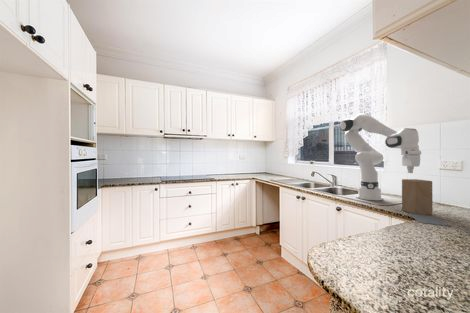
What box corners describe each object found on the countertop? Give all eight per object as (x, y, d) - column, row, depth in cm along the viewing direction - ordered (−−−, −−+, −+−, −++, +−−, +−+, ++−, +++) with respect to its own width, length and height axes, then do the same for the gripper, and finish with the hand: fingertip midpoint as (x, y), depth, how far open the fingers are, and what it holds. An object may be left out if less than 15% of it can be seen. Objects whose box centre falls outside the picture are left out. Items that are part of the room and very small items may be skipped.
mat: (407, 213, 117) (407, 213, 117) (434, 216, 111) (434, 216, 111) (419, 222, 101) (419, 222, 101) (452, 226, 95) (452, 225, 95)
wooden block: (433, 215, 115) (432, 181, 115) (415, 214, 115) (415, 180, 115) (417, 210, 125) (417, 179, 125) (401, 210, 125) (401, 179, 125)
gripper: (399, 152, 141) (399, 172, 140) (409, 151, 122) (409, 173, 122) (410, 152, 138) (410, 172, 138) (422, 151, 120) (423, 174, 119)
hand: (410, 173), depth 130 cm, fingers closed
